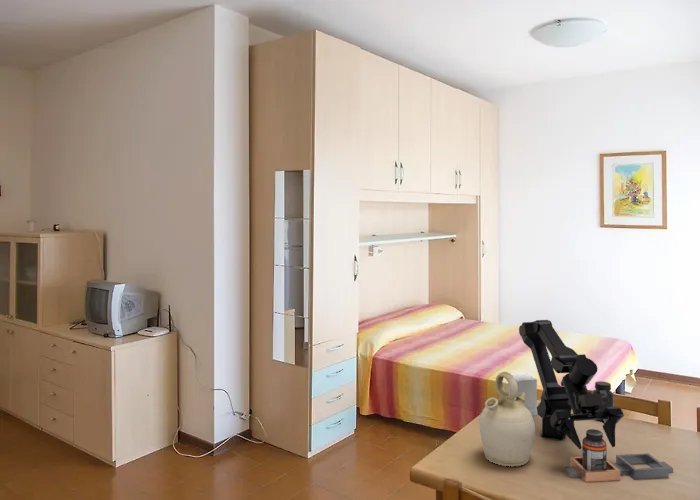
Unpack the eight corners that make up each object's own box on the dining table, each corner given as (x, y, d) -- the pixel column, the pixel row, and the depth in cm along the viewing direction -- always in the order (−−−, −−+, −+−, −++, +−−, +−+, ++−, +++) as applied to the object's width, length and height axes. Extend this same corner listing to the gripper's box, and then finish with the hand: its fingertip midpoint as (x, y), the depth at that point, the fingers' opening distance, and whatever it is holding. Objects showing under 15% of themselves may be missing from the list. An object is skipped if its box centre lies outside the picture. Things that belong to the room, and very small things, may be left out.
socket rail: (574, 482, 147) (574, 473, 147) (559, 466, 156) (559, 457, 156) (679, 477, 149) (679, 467, 148) (658, 461, 158) (658, 452, 158)
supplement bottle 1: (616, 422, 186) (616, 386, 186) (593, 421, 188) (594, 386, 187) (610, 415, 193) (611, 380, 192) (589, 414, 194) (589, 379, 194)
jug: (492, 472, 154) (492, 382, 152) (471, 449, 169) (470, 366, 167) (545, 467, 156) (545, 378, 154) (519, 444, 171) (519, 363, 169)
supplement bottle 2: (582, 466, 156) (582, 426, 155) (605, 469, 154) (606, 428, 153) (582, 476, 151) (582, 434, 150) (606, 479, 148) (607, 437, 147)
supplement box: (537, 415, 194) (537, 379, 194) (517, 417, 193) (517, 381, 192) (527, 408, 202) (527, 373, 201) (507, 410, 200) (507, 374, 199)
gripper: (554, 381, 153) (573, 437, 143) (620, 378, 155) (644, 433, 145) (542, 399, 162) (559, 454, 152) (605, 396, 163) (626, 450, 153)
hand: (597, 447), depth 150 cm, fingers open, 9 cm apart
